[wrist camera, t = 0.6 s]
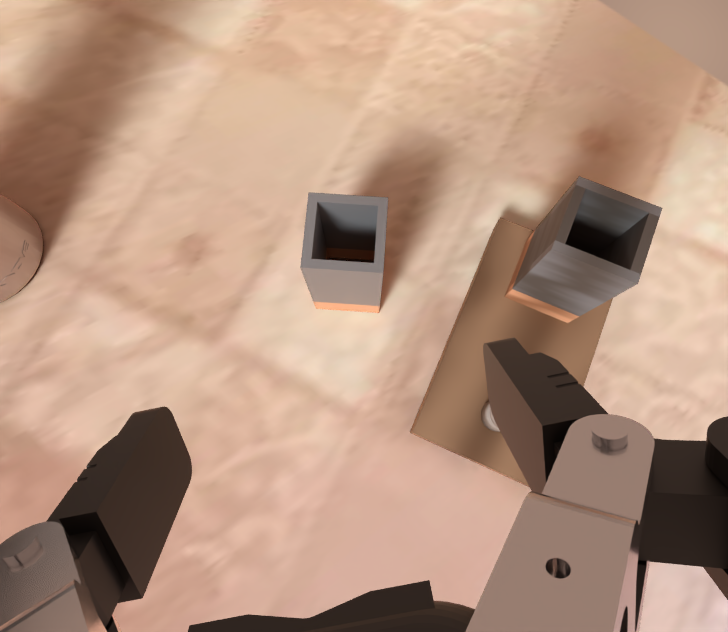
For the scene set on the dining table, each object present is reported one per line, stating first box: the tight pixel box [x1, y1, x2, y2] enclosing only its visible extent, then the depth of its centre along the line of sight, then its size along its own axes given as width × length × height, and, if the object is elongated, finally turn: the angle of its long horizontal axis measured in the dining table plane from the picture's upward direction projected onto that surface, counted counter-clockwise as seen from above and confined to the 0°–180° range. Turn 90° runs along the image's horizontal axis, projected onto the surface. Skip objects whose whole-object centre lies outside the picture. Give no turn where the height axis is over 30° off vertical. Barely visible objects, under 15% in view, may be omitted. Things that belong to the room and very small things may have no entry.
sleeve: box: [300, 193, 388, 313], centre depth 34 cm, size 5×5×10 cm
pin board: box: [410, 176, 662, 487], centre depth 32 cm, size 10×18×12 cm, turn 156°
